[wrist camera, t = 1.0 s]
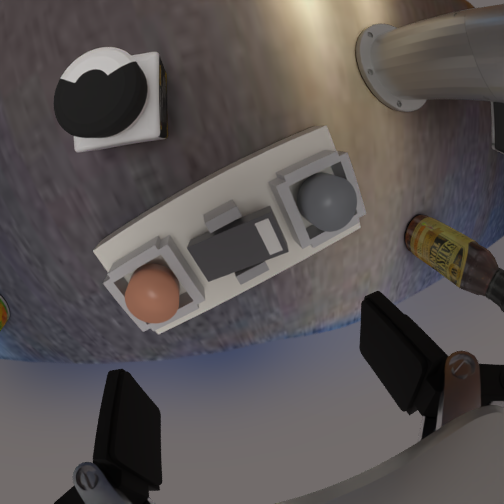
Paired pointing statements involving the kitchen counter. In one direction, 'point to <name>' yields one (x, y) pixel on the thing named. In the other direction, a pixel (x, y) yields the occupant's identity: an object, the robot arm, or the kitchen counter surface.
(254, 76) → the kitchen counter surface
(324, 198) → the slate button
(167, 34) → the kitchen counter surface
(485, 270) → the sauce bottle
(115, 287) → the switch panel
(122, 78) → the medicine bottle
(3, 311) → the supplement bottle
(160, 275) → the terracotta button
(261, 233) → the block
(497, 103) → the smartphone
